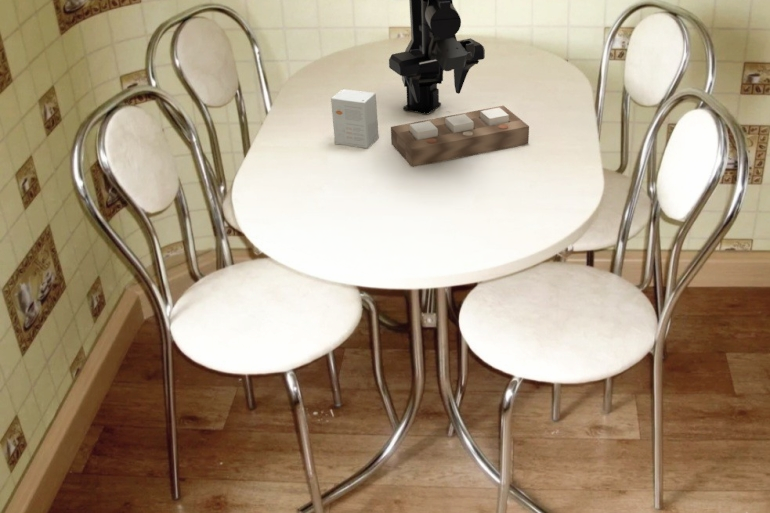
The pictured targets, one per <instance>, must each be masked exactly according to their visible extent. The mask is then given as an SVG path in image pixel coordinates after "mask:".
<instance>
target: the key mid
mask: <svg viewBox="0 0 770 513" xmlns="http://www.w3.org/2000/svg"><path fill="white" fill-rule="evenodd" d="M445 121H446V127H447V128H448V129H449V130H450V131H451V132H452V133H457V132H462V131H467V130H472V129H474V122H473V121H472V120H471V119H470V118H469V117H468V116H466V115H465V114H463V115H457V116H452V117H447V118H445Z"/></svg>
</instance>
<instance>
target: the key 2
mask: <svg viewBox="0 0 770 513" xmlns="http://www.w3.org/2000/svg"><path fill="white" fill-rule="evenodd" d="M480 119H481V120H482V121H483V122H484V123H486V124H487V125H488V126H493V125H498V124H503V123H508V122H509V115H508V114H507V113H506V112H504V111H503V110H502V109H501V108H494V109H489V110H484V111H481V113H480Z"/></svg>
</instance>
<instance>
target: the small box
mask: <svg viewBox="0 0 770 513" xmlns="http://www.w3.org/2000/svg"><path fill="white" fill-rule="evenodd" d="M330 102H331V104H330V105H331V114H332V124H333V125H332V126H333V135H334V138H333V139H334V144H336V145H341V146H348V147H353V148H354V147H355V148H356V147H357V148H362V149H369V148H370V147H372V145H374V144H375V142H376V141H377V140H379V137H380V136H379V124H378V123H379V122H378V108H377V93H376V92H372V91H371V92H370V91H360V90H354V89H346V88H345V89H344V88H343V89H341V90H340V91H339V92H337V93H335V95H334V96H332V97H331V98H330Z"/></svg>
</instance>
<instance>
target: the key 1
mask: <svg viewBox="0 0 770 513" xmlns="http://www.w3.org/2000/svg"><path fill="white" fill-rule="evenodd" d="M410 134H411V135H412V136H413V137H414V138H415V139H416V140H421V139H426V138H431V137H436V136H438V129H437V128H436V127H435V126H434V125H433V124H432V123H431V122H430V121H426V122H421V123H415V124H410Z"/></svg>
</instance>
